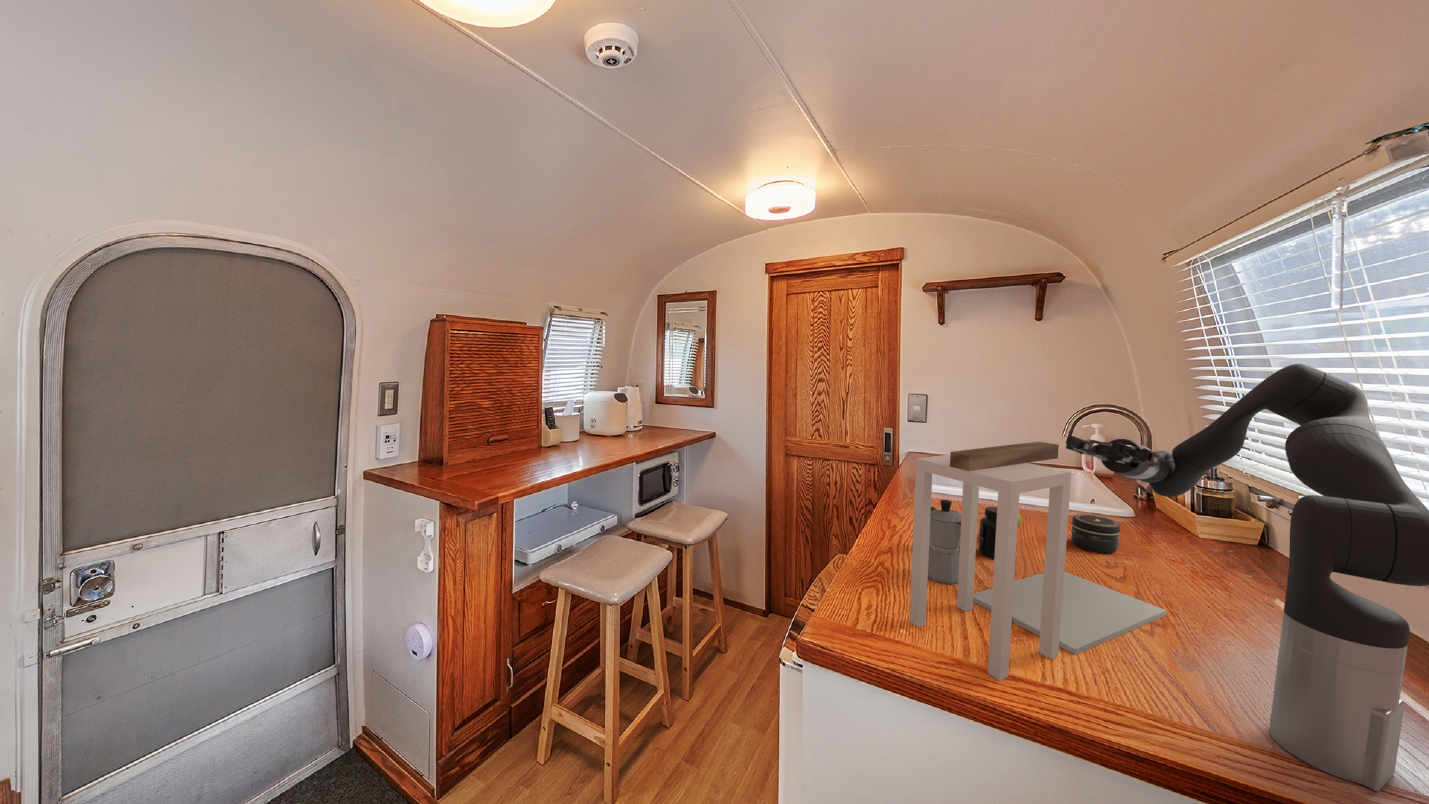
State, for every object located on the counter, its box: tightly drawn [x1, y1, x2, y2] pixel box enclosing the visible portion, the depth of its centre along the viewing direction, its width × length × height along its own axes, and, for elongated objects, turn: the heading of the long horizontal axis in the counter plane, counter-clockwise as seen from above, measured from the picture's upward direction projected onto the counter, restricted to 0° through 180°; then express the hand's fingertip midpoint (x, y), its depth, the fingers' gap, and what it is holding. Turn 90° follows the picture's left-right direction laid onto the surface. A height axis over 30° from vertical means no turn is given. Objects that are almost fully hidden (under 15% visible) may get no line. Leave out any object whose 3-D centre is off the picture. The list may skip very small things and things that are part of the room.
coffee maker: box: [928, 499, 962, 586], centre depth 108 cm, size 15×9×18 cm, turn 22°
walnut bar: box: [950, 441, 1060, 471], centre depth 83 cm, size 4×24×3 cm, turn 114°
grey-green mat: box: [973, 570, 1167, 656], centre depth 95 cm, size 20×30×1 cm, turn 114°
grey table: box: [909, 453, 1073, 682], centre depth 83 cm, size 18×15×32 cm
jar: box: [1071, 513, 1121, 555], centre depth 124 cm, size 10×10×8 cm
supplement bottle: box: [977, 506, 997, 560], centre depth 119 cm, size 7×7×12 cm
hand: (1092, 443), depth 95 cm, fingers open, 8 cm apart
